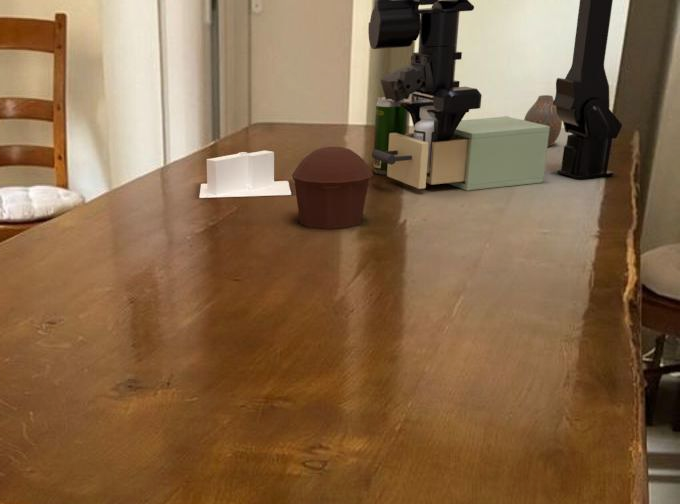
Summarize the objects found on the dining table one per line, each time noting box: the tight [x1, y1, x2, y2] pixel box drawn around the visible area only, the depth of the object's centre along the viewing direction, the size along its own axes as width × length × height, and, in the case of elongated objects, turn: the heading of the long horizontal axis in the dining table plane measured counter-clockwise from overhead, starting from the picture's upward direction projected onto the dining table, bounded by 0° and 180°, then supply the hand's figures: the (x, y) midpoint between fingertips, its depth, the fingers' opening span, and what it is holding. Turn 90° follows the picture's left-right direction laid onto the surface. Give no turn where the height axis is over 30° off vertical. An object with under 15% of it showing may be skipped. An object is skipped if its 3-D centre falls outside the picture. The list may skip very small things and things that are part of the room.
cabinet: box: [447, 115, 550, 191], centre depth 164 cm, size 14×13×9 cm
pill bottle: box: [413, 106, 435, 174], centre depth 160 cm, size 5×5×10 cm
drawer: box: [371, 132, 469, 190], centre depth 162 cm, size 17×11×7 cm
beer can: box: [372, 96, 409, 176], centre depth 172 cm, size 5×5×12 cm
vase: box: [523, 94, 563, 148], centre depth 189 cm, size 7×7×9 cm
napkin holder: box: [198, 150, 292, 199], centre depth 166 cm, size 15×11×6 cm
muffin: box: [291, 146, 374, 230], centre depth 143 cm, size 12×11×10 cm
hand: (430, 151), depth 161 cm, fingers closed on pill bottle, 5 cm apart
